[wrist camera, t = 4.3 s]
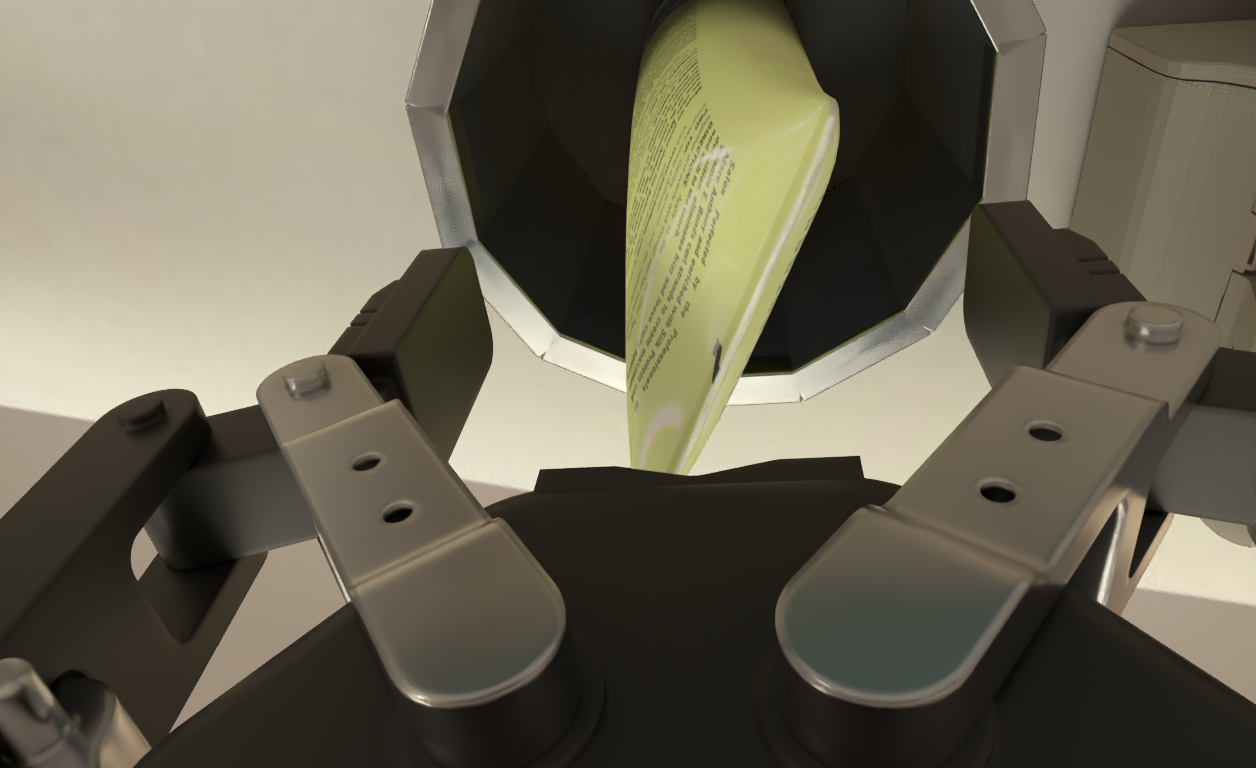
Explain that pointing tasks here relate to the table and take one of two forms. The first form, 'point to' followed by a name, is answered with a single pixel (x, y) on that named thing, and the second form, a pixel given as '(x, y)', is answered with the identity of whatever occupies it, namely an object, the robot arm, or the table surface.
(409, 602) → the robot arm
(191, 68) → the table surface
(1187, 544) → the table surface
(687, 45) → the yellow elongated tapered cylinder
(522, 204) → the pail
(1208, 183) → the digital clock
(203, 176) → the table surface
